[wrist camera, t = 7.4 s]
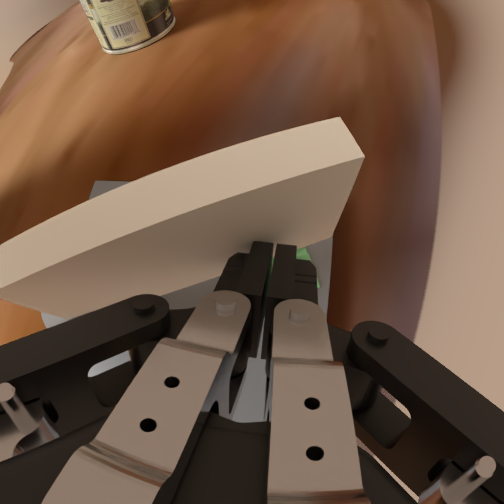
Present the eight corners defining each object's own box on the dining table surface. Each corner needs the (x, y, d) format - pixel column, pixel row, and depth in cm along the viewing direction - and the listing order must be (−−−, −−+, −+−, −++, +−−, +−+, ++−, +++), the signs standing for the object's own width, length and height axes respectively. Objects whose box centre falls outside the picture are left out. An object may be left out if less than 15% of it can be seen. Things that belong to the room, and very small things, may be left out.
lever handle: (111, 353, 18) (-36, 330, 7) (101, 305, 19) (-36, 245, 8) (320, 284, 19) (379, 182, 8) (301, 237, 20) (327, 97, 9)
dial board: (56, 409, 19) (43, 410, 17) (103, 189, 24) (94, 179, 23) (300, 470, 17) (302, 480, 15) (331, 208, 22) (335, 196, 21)
